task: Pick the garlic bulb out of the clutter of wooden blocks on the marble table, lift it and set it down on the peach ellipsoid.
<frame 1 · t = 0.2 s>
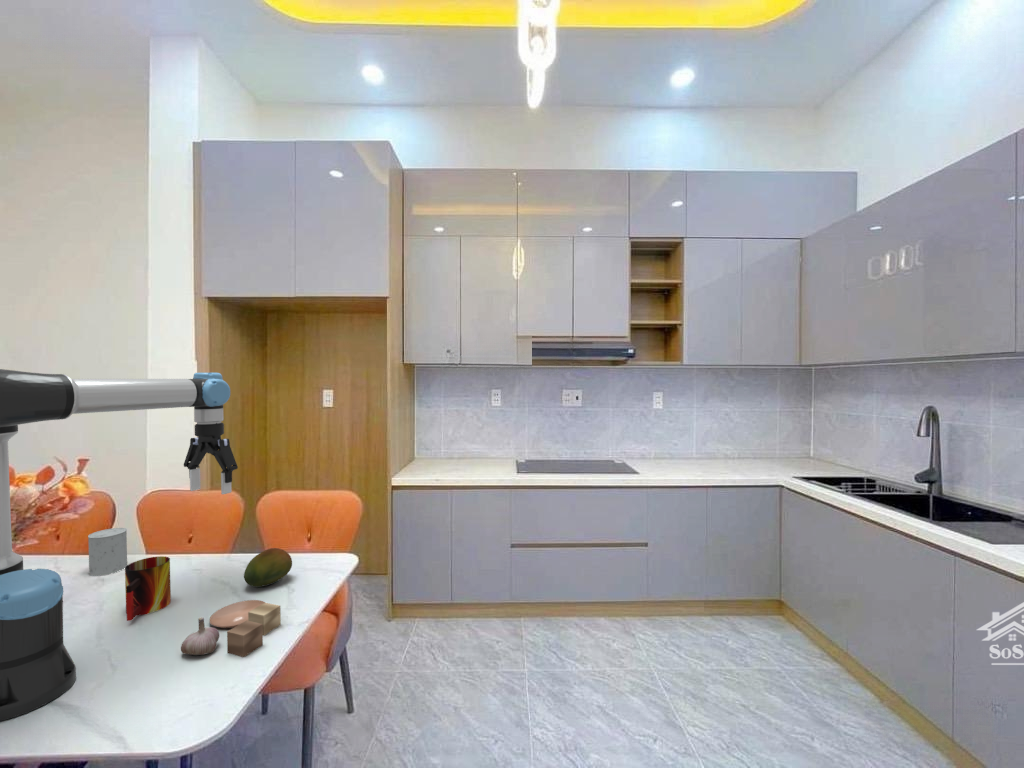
hand: (210, 491, 140), 28 cm above the table, fingers open, 13 cm apart
fruit: (268, 584, 138), on the table
oak block: (264, 628, 114), on the table
mug: (149, 610, 124), on the table
grey concrete cylinder: (108, 570, 150), on the table
garlic bulb: (200, 652, 104), on the table
peach ellipsoid: (239, 616, 119), on the table
walnut block: (245, 649, 105), on the table
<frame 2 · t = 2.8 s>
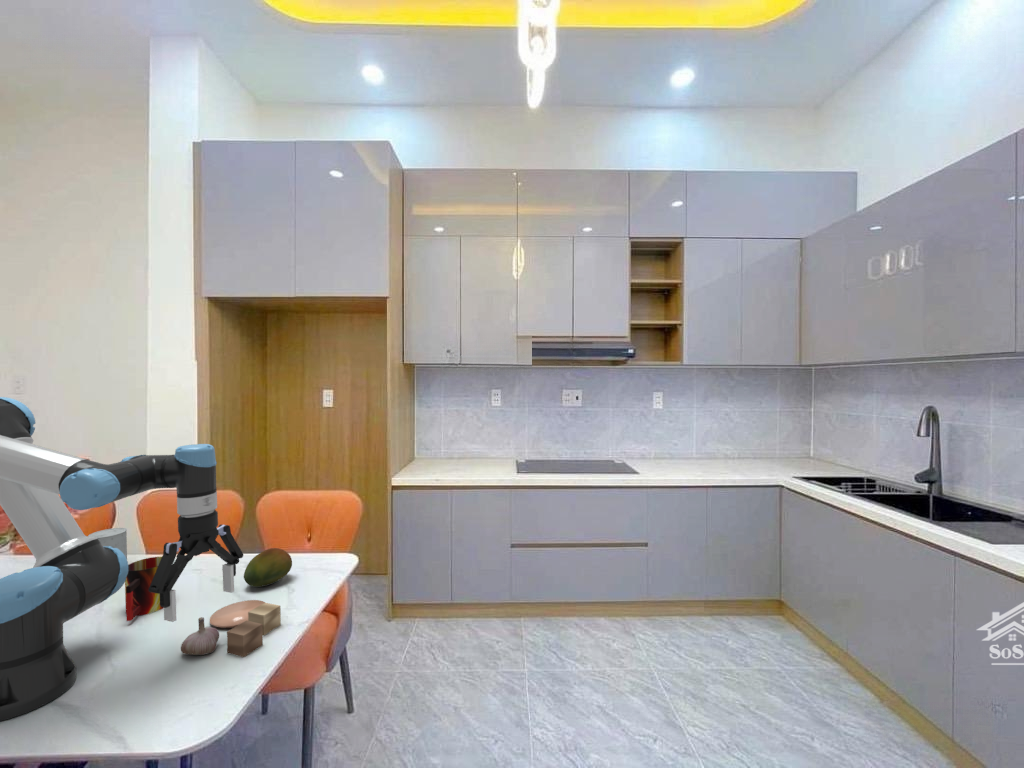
hand: (201, 605, 104), 11 cm above the table, fingers open, 13 cm apart
nothing on the table moved.
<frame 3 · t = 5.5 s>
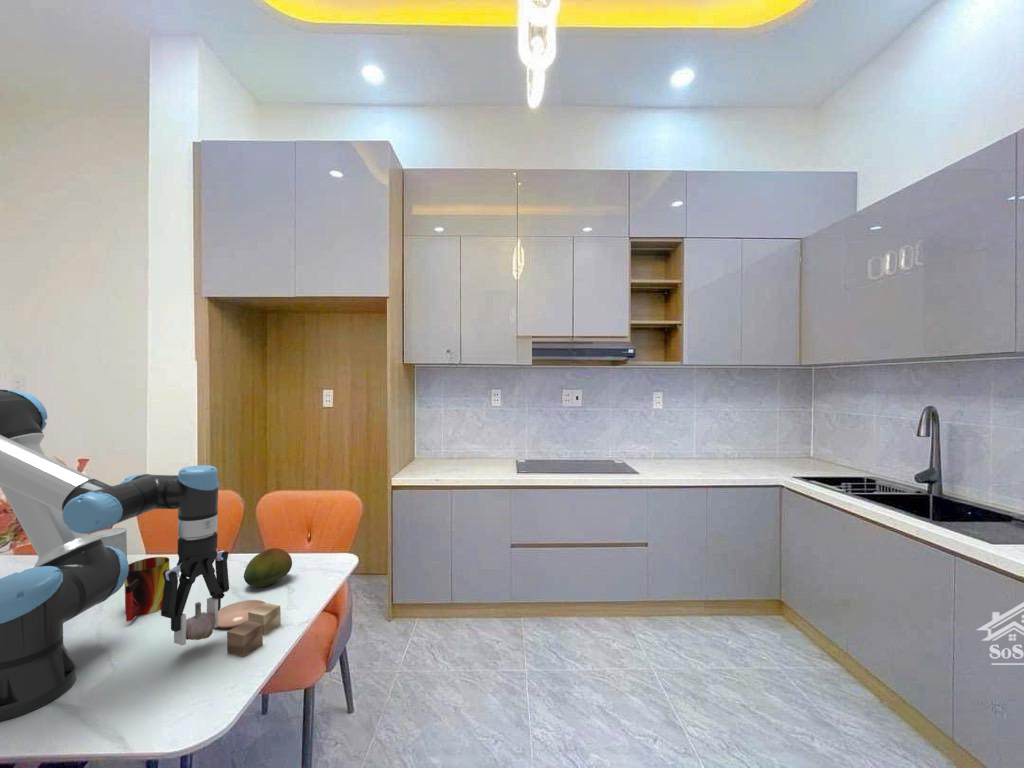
hand: (196, 634, 104), 4 cm above the table, fingers closed on garlic bulb, 7 cm apart
garlic bulb: (196, 637, 104), point 3 cm above the table, touching gripper
everything else where it was.
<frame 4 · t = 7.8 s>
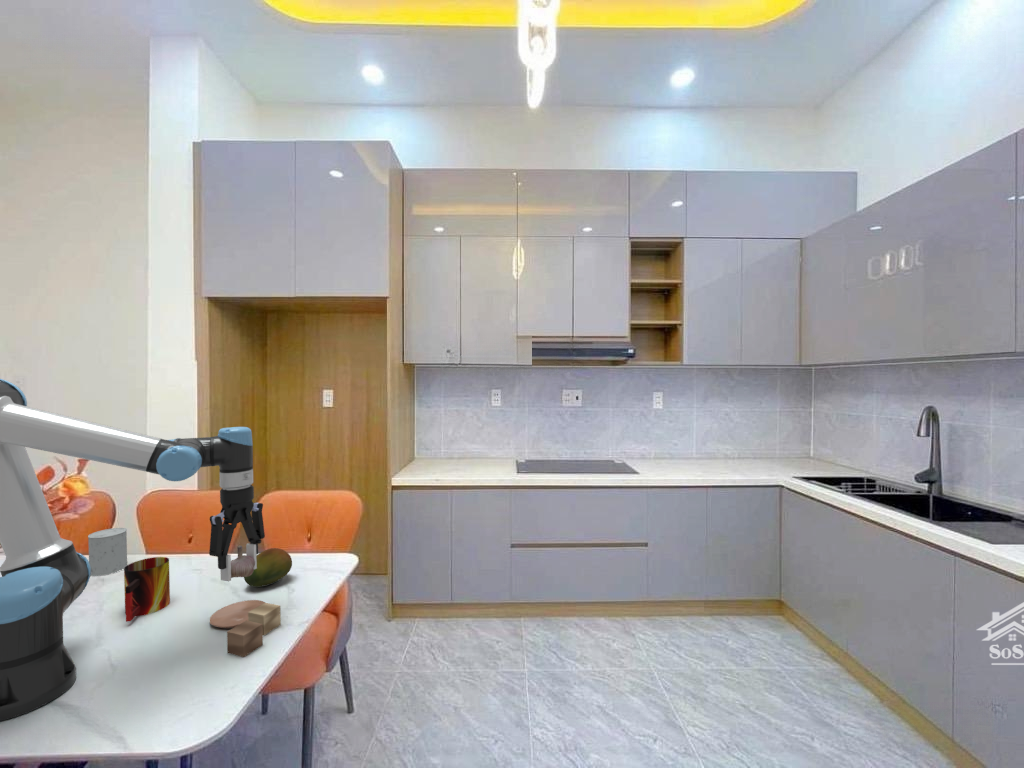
hand: (239, 573, 119), 11 cm above the table, fingers closed on garlic bulb, 7 cm apart
garlic bulb: (239, 576, 119), point 11 cm above the table, touching gripper
everything else where it was.
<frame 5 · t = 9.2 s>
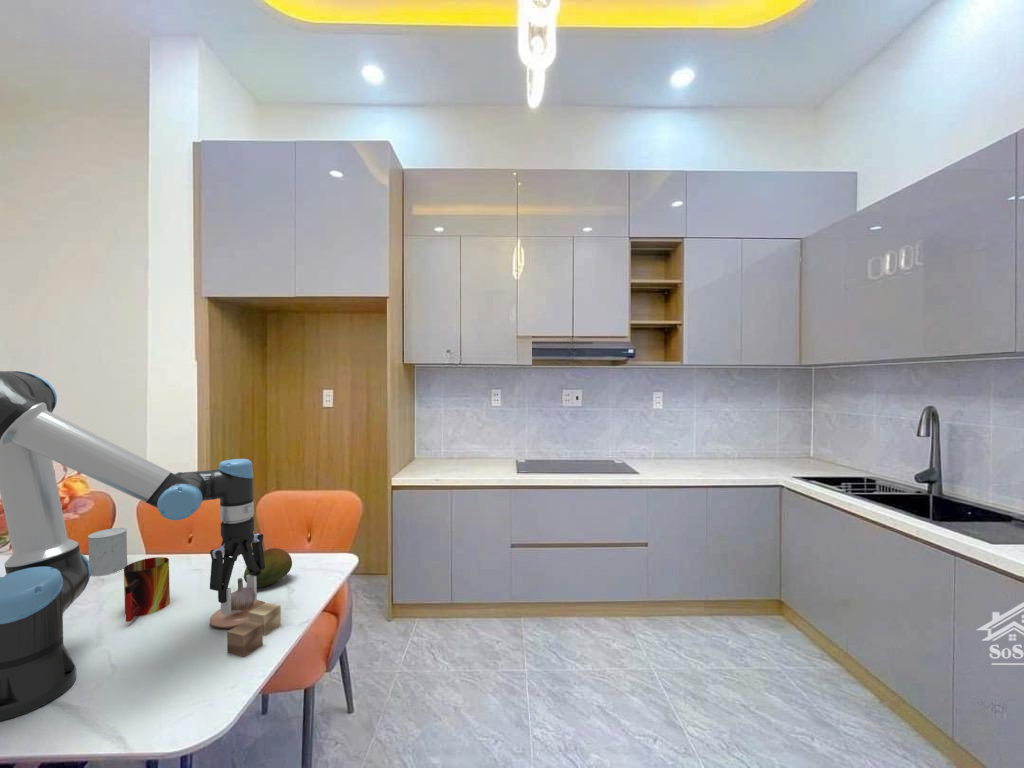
hand: (239, 606, 119), 3 cm above the table, fingers closed on garlic bulb, 7 cm apart
garlic bulb: (239, 609, 119), point 2 cm above the table, touching gripper
everything else where it was.
when the fingers open (2 cm above the table, at t = 10.0 s): garlic bulb stays where it is, resting on peach ellipsoid.
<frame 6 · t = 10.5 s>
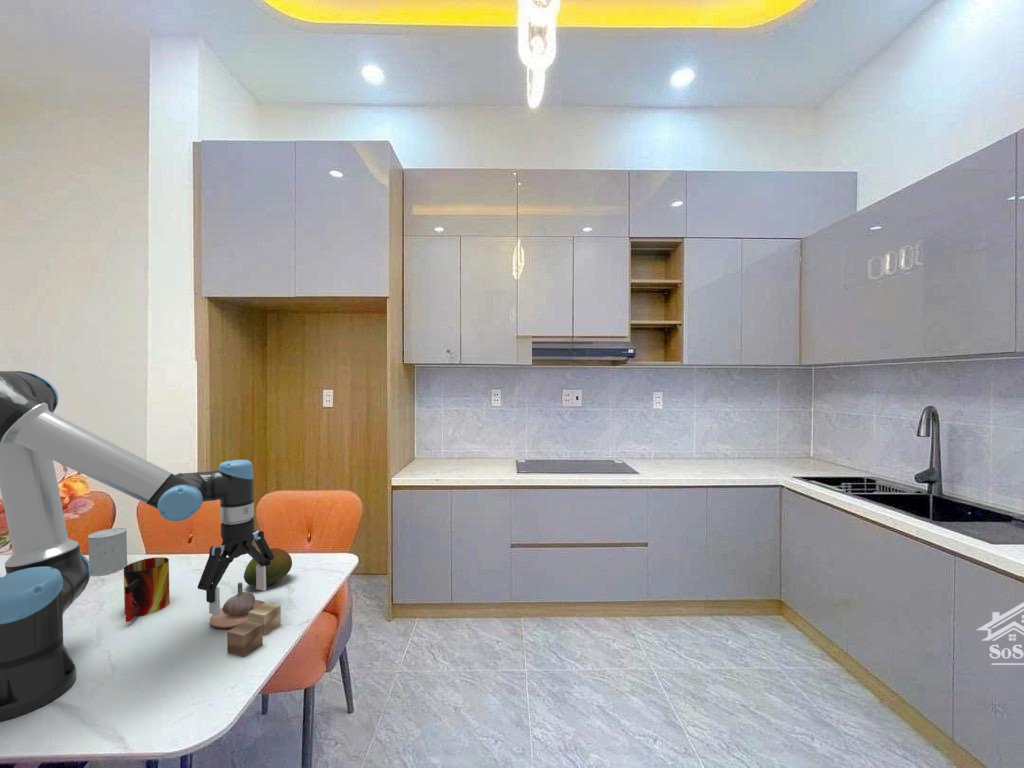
hand: (239, 601, 119), 4 cm above the table, fingers open, 13 cm apart
garlic bulb: (239, 613, 119), point 1 cm above the table, touching peach ellipsoid
everything else where it was.
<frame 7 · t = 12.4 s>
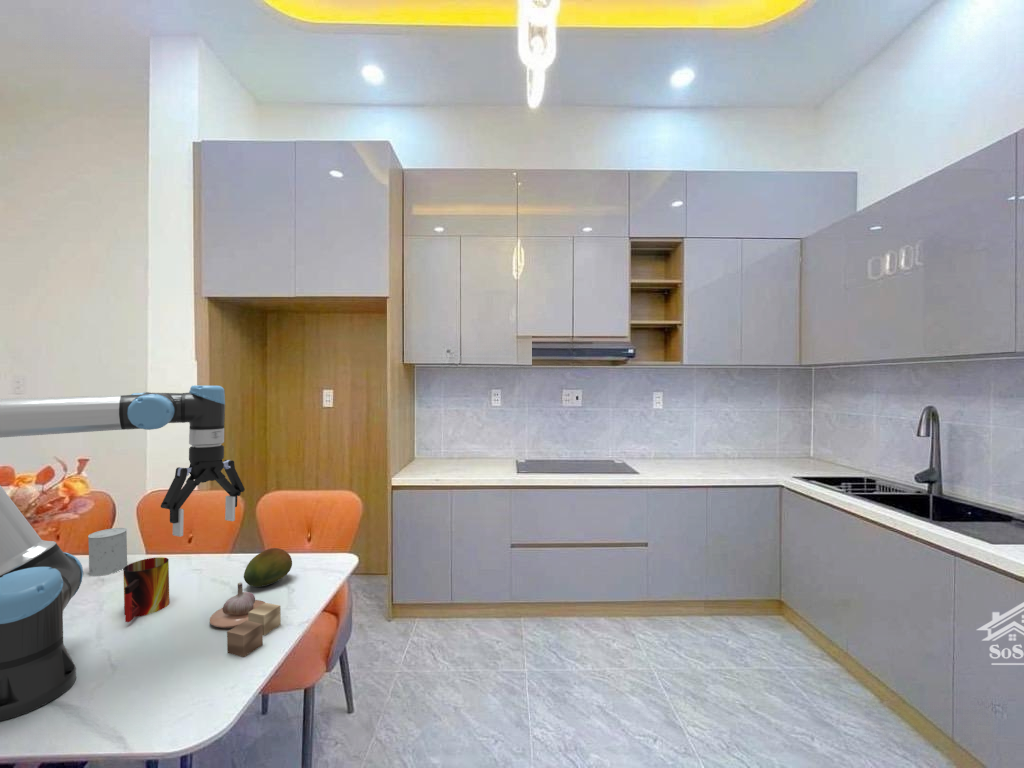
hand: (205, 527, 117), 24 cm above the table, fingers open, 13 cm apart
nothing on the table moved.
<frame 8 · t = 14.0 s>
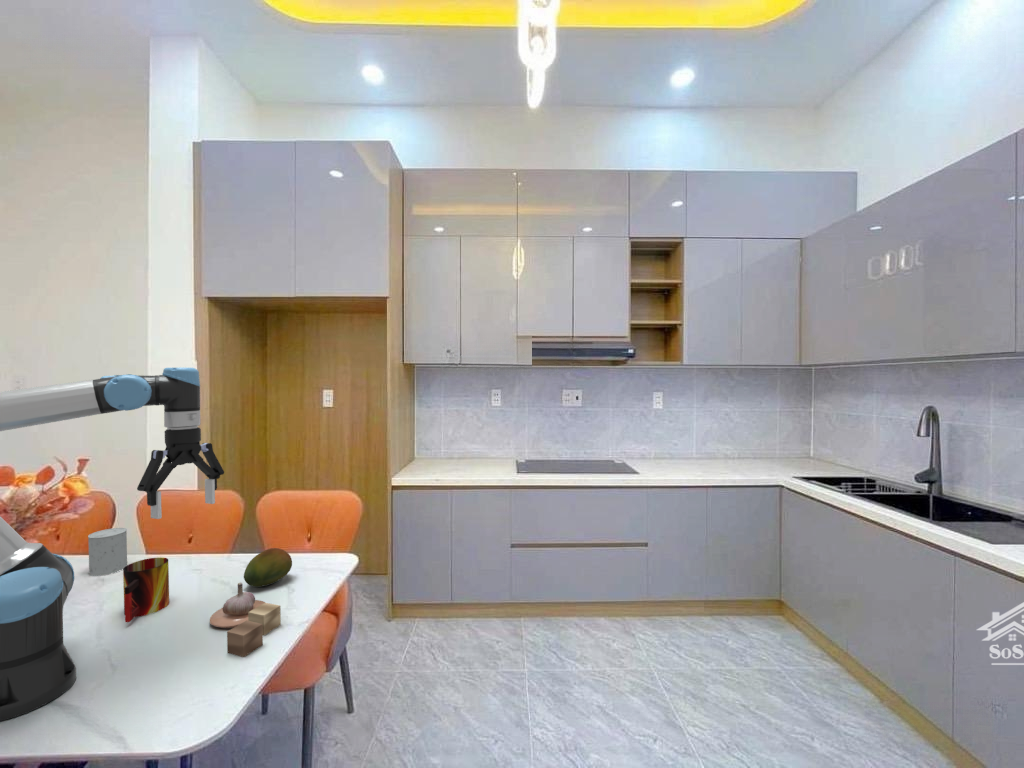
hand: (184, 510, 117), 29 cm above the table, fingers open, 13 cm apart
nothing on the table moved.
at the end: garlic bulb 0.3 cm from the peach ellipsoid (horizontally); garlic bulb point 1.0 cm above the table; the gripper is holding nothing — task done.
